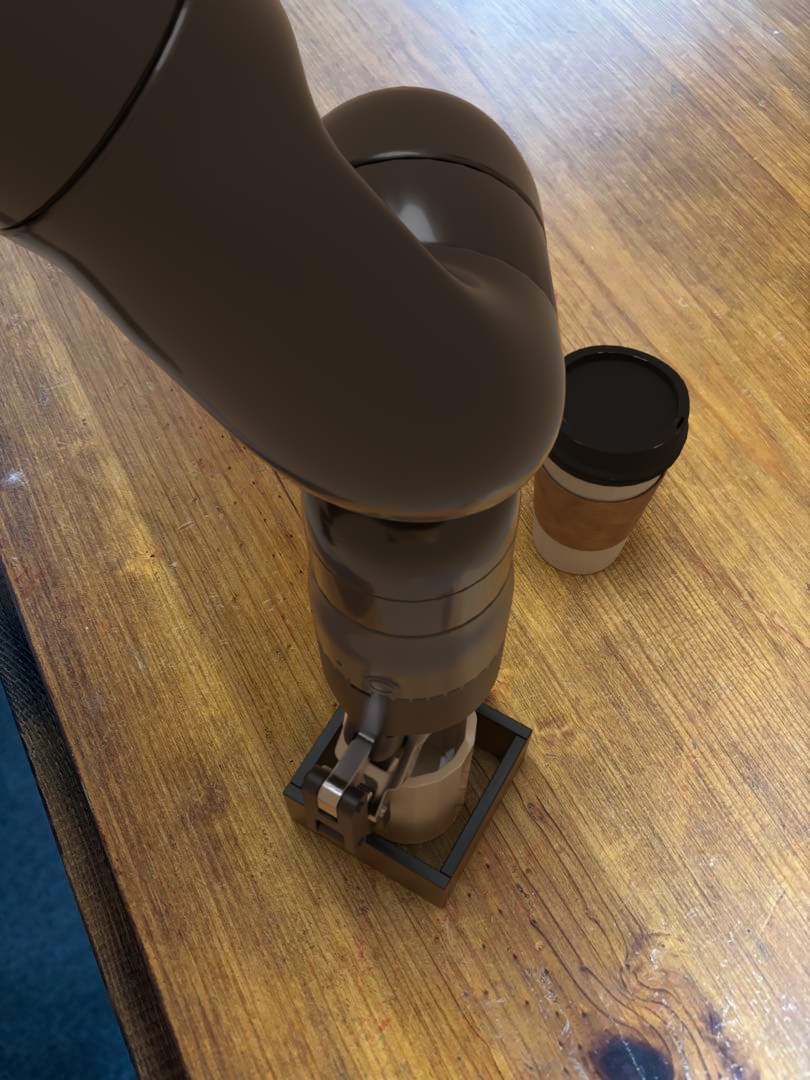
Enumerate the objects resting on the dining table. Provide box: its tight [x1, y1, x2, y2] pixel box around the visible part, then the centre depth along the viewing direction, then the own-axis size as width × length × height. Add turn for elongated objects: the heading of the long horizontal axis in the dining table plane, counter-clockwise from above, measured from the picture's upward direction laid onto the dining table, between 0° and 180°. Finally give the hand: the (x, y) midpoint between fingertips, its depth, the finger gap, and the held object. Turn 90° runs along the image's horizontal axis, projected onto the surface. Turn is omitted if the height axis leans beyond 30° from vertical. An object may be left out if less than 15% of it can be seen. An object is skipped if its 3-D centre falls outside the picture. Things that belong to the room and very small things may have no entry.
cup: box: [343, 711, 477, 845], centre depth 56 cm, size 6×6×11 cm
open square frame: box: [282, 702, 534, 910], centre depth 59 cm, size 10×10×5 cm
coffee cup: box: [531, 344, 691, 576], centre depth 63 cm, size 8×8×15 cm
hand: (411, 743), depth 54 cm, fingers open, 8 cm apart
